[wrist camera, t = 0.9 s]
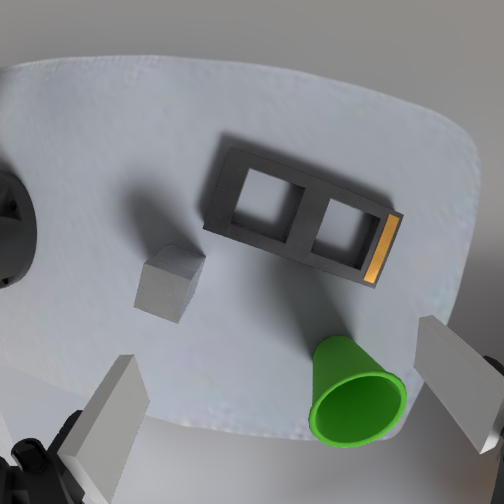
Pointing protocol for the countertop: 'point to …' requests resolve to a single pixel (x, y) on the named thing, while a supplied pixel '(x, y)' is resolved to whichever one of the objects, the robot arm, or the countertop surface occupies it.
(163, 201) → the countertop surface
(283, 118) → the countertop surface
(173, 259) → the gray squarish block
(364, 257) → the dark grey flat frame
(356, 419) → the cup
